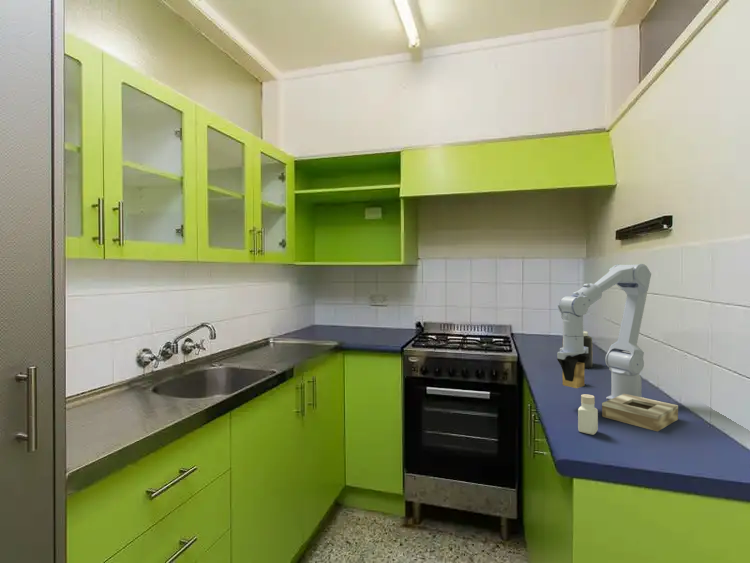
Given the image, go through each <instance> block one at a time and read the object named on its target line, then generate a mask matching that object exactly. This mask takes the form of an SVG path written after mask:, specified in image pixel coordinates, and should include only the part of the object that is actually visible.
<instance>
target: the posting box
mask: <svg viewBox="0 0 750 563" xmlns="http://www.w3.org/2000/svg"><path fill="white" fill-rule="evenodd" d="M642 397H643V396H642ZM642 397H637V396H633V395H628V394H622V395H620V396H618V397H615V398H613V399H607V400H606V401H603V402H602V403H601V416H602V417H603V418H606V419H610V420H614V421H617V422H621V423H624V424H629V425H632V426H636V427H640V428H643V429H647V430H650V431H655V432H659V431H661V430H663V429H664V428H666V427H667V426H670V425H671V424H673V423H674V422H676V421H678V420H679V405H678V404H674V403H669V402H665V401H659V400H655V399H651V398H646V397H645V398H642Z"/></svg>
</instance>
